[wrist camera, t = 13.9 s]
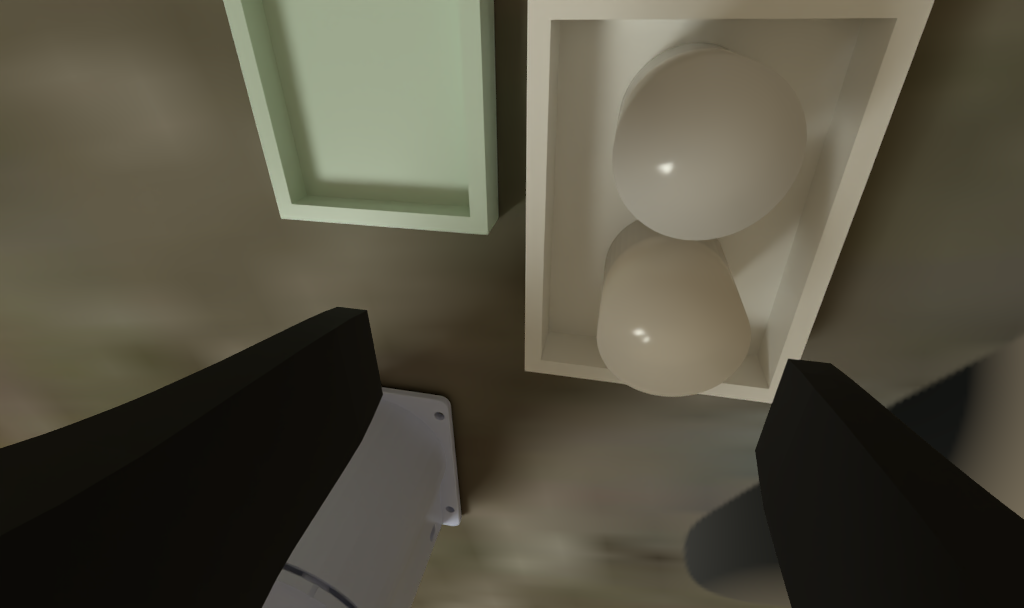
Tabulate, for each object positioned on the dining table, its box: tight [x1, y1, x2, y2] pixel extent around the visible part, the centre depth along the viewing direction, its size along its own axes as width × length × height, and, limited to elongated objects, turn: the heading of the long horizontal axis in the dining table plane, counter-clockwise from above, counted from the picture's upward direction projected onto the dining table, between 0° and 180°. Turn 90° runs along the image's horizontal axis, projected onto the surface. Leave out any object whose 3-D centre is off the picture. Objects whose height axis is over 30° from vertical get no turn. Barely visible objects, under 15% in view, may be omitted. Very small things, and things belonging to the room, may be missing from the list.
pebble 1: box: [612, 42, 807, 241], centre depth 13 cm, size 4×4×4 cm
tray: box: [223, 0, 499, 235], centre depth 15 cm, size 12×8×2 cm, turn 1°
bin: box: [525, 0, 935, 403], centre depth 15 cm, size 12×9×2 cm
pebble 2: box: [597, 220, 751, 397], centre depth 15 cm, size 4×4×4 cm
